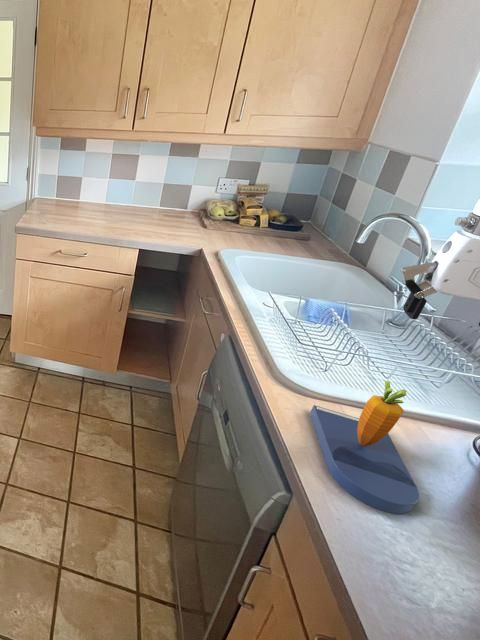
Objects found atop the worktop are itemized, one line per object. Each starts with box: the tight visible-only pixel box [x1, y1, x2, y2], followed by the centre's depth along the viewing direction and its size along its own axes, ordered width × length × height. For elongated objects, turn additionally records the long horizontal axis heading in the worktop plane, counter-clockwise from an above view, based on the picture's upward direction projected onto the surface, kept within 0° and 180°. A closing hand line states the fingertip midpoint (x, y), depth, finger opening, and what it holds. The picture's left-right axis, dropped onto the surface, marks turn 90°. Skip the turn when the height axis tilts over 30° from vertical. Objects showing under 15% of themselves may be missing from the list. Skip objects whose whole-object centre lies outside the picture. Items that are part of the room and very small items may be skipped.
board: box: [309, 404, 420, 515], centre depth 80 cm, size 12×22×3 cm, turn 153°
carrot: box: [357, 380, 408, 446], centre depth 78 cm, size 5×5×15 cm
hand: (446, 322), depth 71 cm, fingers open, 9 cm apart
